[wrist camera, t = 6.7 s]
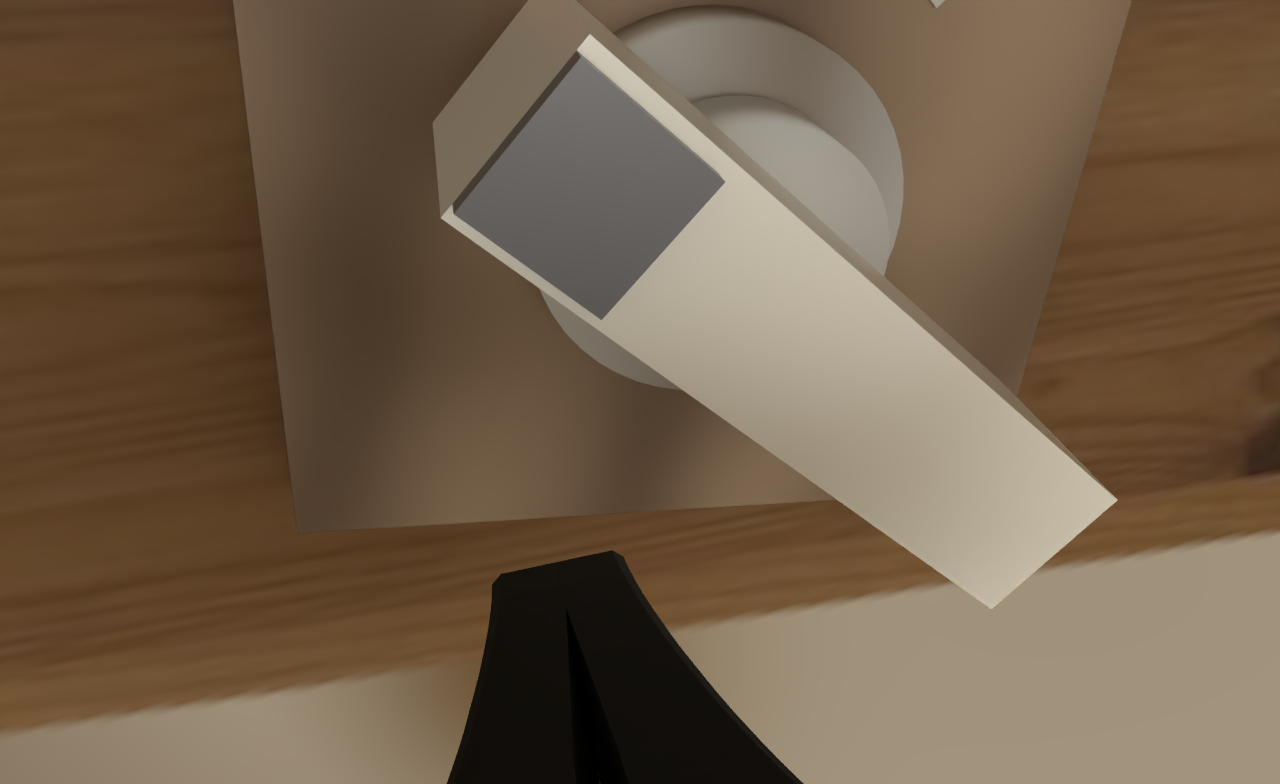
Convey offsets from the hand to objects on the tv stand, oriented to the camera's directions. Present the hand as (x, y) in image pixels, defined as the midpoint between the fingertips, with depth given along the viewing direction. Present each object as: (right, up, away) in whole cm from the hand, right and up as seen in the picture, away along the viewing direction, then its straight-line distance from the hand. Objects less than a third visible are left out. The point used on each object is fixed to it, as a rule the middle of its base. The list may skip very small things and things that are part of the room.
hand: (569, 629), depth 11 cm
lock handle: (+2, +5, +6) cm, 8 cm away
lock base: (+2, +7, +8) cm, 11 cm away
